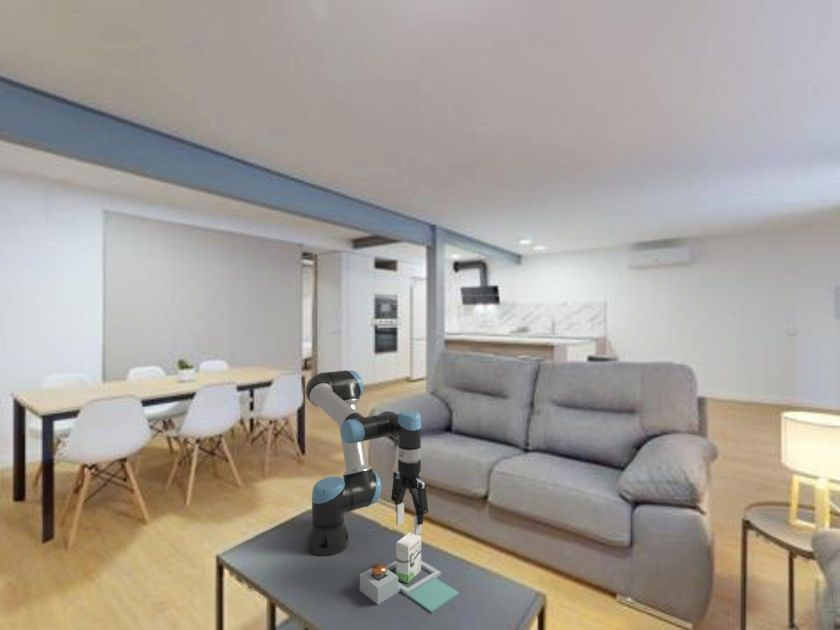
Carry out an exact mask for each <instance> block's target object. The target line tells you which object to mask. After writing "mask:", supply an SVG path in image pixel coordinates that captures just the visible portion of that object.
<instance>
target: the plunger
mask: <svg viewBox="0 0 840 630" xmlns="http://www.w3.org/2000/svg"><path fill="white" fill-rule="evenodd" d="M386 566H387V565H386V564H384V563H382V562H378V563H374V564H373V565H372V566H371V568H372V573H373V574H374V579H376V580H377V581H379V580H381V579H383V578H384V573H385V572H386Z"/></svg>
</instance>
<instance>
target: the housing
mask: <svg viewBox="0 0 840 630" xmlns="http://www.w3.org/2000/svg"><path fill="white" fill-rule="evenodd" d="M394 569H396V560H395V561H393V562H392V563H390V564H387V565H386V572H385V573H384V578H383V579H381V580H379V581H377V580H376V579H374V574H373V573H372V567H371V568H369V569H367V570H365V571H364V572H361V573H360V574H359V591H360V592H361V593H362V594H364V595H365V596H366V597H368V599H370V600H371V601H372V602H373V603H375V604H376V605H380V604H382V603H383V602H385V601H386V600H388V599H389V598H392V597H393V596H395V595H396V594H398V593H400V592H401V593H403V594H404V595H405V596H408V594H410V593H412V592H413V591H415V590H417V589H418V588H420V587H421V586H423V585H425V584H426V583H428V582H430V581H431V580H433V579H435V578H437V579H438V578H439V577H440V576H441V575H442V572H441V571H440V570H438V569H436V568H435V567H433V566H432V565H430V564H428V563H426V562H425V561H423V560H422V559H421V569H424V570H425V571H427V572H429V573H430V574H428V575H427V576H425V577H423V578H421V579H420V580H418V581H416V582H415V583H413V584H412V585H410V586H409V587H406V586H405V585H403V583H401V582H399V580H398V576H397V575H396V573H394V572H392V571H391V570H394Z"/></svg>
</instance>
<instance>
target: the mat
mask: <svg viewBox="0 0 840 630" xmlns="http://www.w3.org/2000/svg"><path fill="white" fill-rule="evenodd" d="M407 596H408V598H409V599H411V600H412V601H414V602H415V603H417V604H418V605H419V606H421V607H422V608H424V609H425V610H427V611H428V612H429V613H431V614H433V613H434V612H435V611H437V610H438V609H440V608H442V607H443V606H445V605H446V604H447V603H449V602H451V601H452V600H453V599H455V598H456V597H458V596H460V592H459V591H458V590H456V589H454V588H453V587H451V586H449V585H448V584H446V583H444V582H443V581H441V580H440V579H439V578H438V577H437V578H435V579H433V580H431V581H430V582H428V583H426V584H425V585H423V586H421V587H420V588H418V589H417V590H415V591H413V592H412V593H410V594H408V595H407Z"/></svg>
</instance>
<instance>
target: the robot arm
mask: <svg viewBox="0 0 840 630" xmlns="http://www.w3.org/2000/svg"><path fill="white" fill-rule="evenodd" d="M363 393H364V383H363V379H362V377H361V376H360V374H359V373H358V372H357V371H355V370H347V369H346V370H345V369H344V370H338V371H337V370H336V371H326V372H319V373H316V374H314V375H313V376H311V378H310V379H309V380H308V382H307V384H306V387H305V396H306V398H307V401H309V403H310V404H311V405H313V406H314V407H316V408H317V407H319V408H320V409H321V410H322V411H323V412H324V413H325V414H326V415H327V416H328V417H329V418H330V419H332V420H333V421H334V422H335V423H336V425H338V428H339V433H340V434H339V435H340V440H341V446H342V451H343V452H342V453H343V458H344V463H345V470H344V472H343V474H342V477H341V476H328V477H325V478H323V479H320V480H319V481H317V482H316V483H315V484H314V485H313V487H312V494H311V528H310V530H309V532H308V533H309V534H308V537H307V541H306V549H307V551H308V552H310V553H311V554H313V555H317V556H321V557H322V556H324V557H325V556H331V555H336V554H339V553H341V552H343V551H344V550H346V549H347V548H348V546H349V543H350V541H349V540H350V539H349V538H350V537H349V533H348V530H347V527H346V524H345V513H349V512H352V511H356V510H359V509H363V508H366V507H367V508H368V507H370V506H372V505H374V504H376V503H377V502H379V499H380V497H381V492H382V482H381V479H380V477H379V474H378V472H377V473H376V471H375V472H374V471H373V467H372V466H370V465H369V463H368V460H367V459H368V458H367V454H366V448H365V442H366V441H370V440H376V439H381V438H386V437H390V436H391V437H394V438H396V439H397V459H398V460H397V471H395V472H393V473H392V476H393V481H392V489H391V497H390V500H391V501H392V502H394V505H395V514H396V518H395V519H396V520H395V521H396V525H397V526H400V525H401V524H404V523H405V503H403V502H405V501H404V498H405V495H406V492H407V489H408V490H409V494H411V498H412V502H413V506H414V510H415V513H414V514H413V515H414V522H413V523H414V524H413V527H414V528H413V534H414V535H419V534H421V533H422V534H423V523H424V515H426V514H428V513H429V506H428V497H427V490H426V489H427V481H426V480H425V481H422V480H421V479H420V475H419V474H420V472H421V470H422V466H421V465H422V463H421V462H422V461H421V458H422V453H421V452H422V447H421V446H422V418H421V414H420V412H417V411H413V410H404V411H401V412H399V413H396V412H395V411H391V410H383V411H381V412H380V413H378V414H377V415H369V416H363V415H362V414H361V413H360V412H359V407H358V404H359V403H360V401H361V398H360V397H362V395H363Z"/></svg>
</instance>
